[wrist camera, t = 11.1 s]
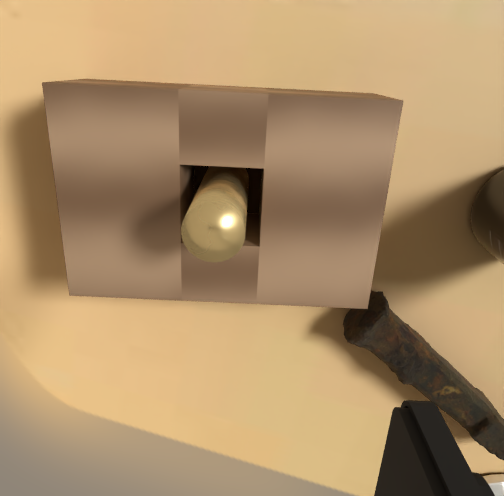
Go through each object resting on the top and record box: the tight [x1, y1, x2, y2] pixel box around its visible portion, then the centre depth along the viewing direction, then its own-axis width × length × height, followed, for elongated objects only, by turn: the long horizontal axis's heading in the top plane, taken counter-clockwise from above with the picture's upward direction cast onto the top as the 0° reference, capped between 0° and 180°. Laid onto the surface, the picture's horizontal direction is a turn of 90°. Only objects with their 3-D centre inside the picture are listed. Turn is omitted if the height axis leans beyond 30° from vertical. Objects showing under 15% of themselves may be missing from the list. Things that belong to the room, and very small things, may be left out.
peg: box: [181, 166, 249, 262], centre depth 25 cm, size 3×3×10 cm
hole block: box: [42, 79, 403, 309], centre depth 27 cm, size 12×18×6 cm, turn 87°
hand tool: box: [343, 291, 504, 460], centre depth 34 cm, size 19×4×5 cm, turn 45°
